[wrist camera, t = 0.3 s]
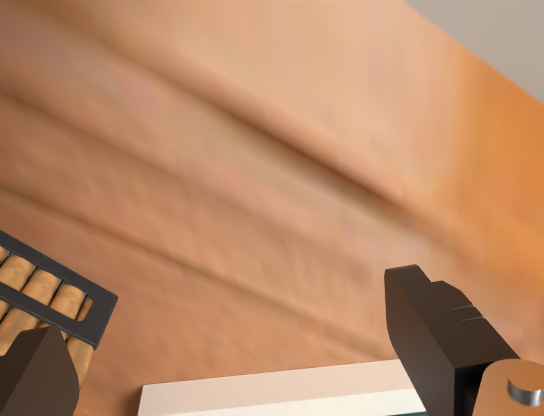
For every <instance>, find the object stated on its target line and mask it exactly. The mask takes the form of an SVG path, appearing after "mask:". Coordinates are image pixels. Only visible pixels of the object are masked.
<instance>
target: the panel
mask: <svg viewBox="0 0 544 416" xmlns="http://www.w3.org/2000/svg"><path fill="white" fill-rule="evenodd" d="M424 411H426V409H425V407H424V406H423V404H422V402H421V400H420V398H419V396H418V394H417V392H416V390H415V388H414V386H413V384H412V382H411V381H410V379H409V377H408V375H407V373H406V371H405V369H404V367H403V365H402V363H401V361H400V359H393V360H384V361H374V362H364V363H354V364H345V365H335V366H325V367H315V368H306V369H296V370H286V371H276V372H267V373H257V374H247V375H237V376H228V377H218V378H208V379H198V380H189V381H179V382H169V383H159V384H150V385H143V390H142V396H141V401H140V406H139V411H138V416H388V415H397V414H406V413H415V412H424ZM426 412H427V411H426Z"/></svg>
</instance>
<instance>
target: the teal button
mask: <svg viewBox="0 0 544 416" xmlns="http://www.w3.org/2000/svg"><path fill="white" fill-rule="evenodd" d="M392 416H429V415H428V413H427V412H426V411H424V412H415V413H406V414H397V415H392Z"/></svg>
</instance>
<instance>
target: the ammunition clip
mask: <svg viewBox="0 0 544 416" xmlns="http://www.w3.org/2000/svg"><path fill="white" fill-rule="evenodd" d="M23 286H25V287H24V288H23ZM22 288H23V290H22V291H21V289H22ZM20 291H21V292H20ZM50 300H51V301H52V302H51V304H50V306H48V304H49V302H50ZM117 300H118V296H116V295H114V294H113V293H111V292H109V291H107V290H106V289H104V288H102V287H100V286H99V285H97V284H95V283H93V282H91V281H90V280H88V279H86V278H84V277H83V276H81V275H79V274H77V273H75V272H74V271H72V270H70V269H68V268H67V267H65V266H63V265H61V264H59V263H58V262H56V261H54V260H52V259H51V258H49V257H47V256H45V255H43V254H42V253H40V252H38V251H36V250H35V249H33V248H31V247H29V246H28V245H26V244H24V243H22V242H20V241H19V240H17V239H15V238H13V237H12V236H10V235H8V234H6V233H4V232H3V231H1V230H0V356H2V355H5V353H6V352H7V350H8V349H9V347H10V346H11V344H12V343H13V341H14V340H15V338H16V337H17V335H18V334H19V333H20V332H21V331H23V330H29V329H35V327H36V325H37V324H38V322H39V320H42V321H41V323H40V325H39V327H38V328H41V327H47V326H52V325H55V326H57V327H58V328H59V329H60V331H61V333H62V335H63V338H64V340H65V343H66V345H67V348H68V351H69V353H70V356H71V359H72V361H73V364H74V366H75V369H76V372H77V374H78V378H79V386H80V389H81V387H82V385H83V382H84V379H85V376H86V373H87V370H88V368H89V365H90V362H91V359H92V356H93V354H94V351H95V350H96V348H97V347H98V345H99V343H100V340H101V338H102V335H103V333H104V331H105V328H106V326H107V324H108V321H109V319H110V316H111V314H112V312H113V309H114V307H115V305H116V302H117ZM11 305H12V307H11V308H10V310H9V311H8V313H6V311H7V310H8V309H9V307H10V306H11ZM76 316H77V319H76V320H75V318H76ZM68 334H69V337H68V338H67V336H68ZM66 338H67V339H66Z"/></svg>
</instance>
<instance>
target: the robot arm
mask: <svg viewBox="0 0 544 416" xmlns="http://www.w3.org/2000/svg"><path fill="white" fill-rule="evenodd" d="M384 282H385V302H386V321H387V329H388V333H389V337H390V340H391V343H392V346H393V348H394V350H395V352H396V354H397V356H398V357H399V359H400V361H401V363H402V365H403V367H404V369H405V371H406V373H407V375H408V377H409V379H410V381H411V382H412V384H413V386H414V388H415V390H416V392H417V394H418V396H419V398H420V400H421V402H422V404H423V406H424V407H425V409H426V411H427V413H428V415H429V416H544V365H541V364H539V363H536V362H532V361H528V360H523V359H520V357H519V356H518V355H517V354H516V353H515V352H514V351H513V350H512V348H511V347H510V346H509V345H508V344H507V343H506V342H505V340H504V339H503V338H502V337H501V336H500V335H499V334H498V332H497V331H496V330H495V329H494V328H493V327H492V326H491V325H490V323H489V322H488V321H487V320H486V319H485V318H484V319H483V316H482V314H481V313H480V312H479V311H478V310H477V309H476V307H473V304H472V303H471V302H470V301H469V300H468V298H467V297H466V296H465V295H464V294H463V293H462V292H461V291H460V290H459V289H457V288H455V287H453V286H451V285H449V284H448V283H446V282H444V281H436V282H431V281H430V280H429V279H428V277H427V276H426V275H425V274H424V272H423V271H422V270H421V269H420V267H419V266H418V265H416V264H414V265H408V266H403V267H397V268H391V269H386V270H385V274H384ZM79 391H80V386H79V378H78V374H77V372H76V369H75V366H74V364H73V361H72V359H71V356H70V353H69V351H68V348H67V345H66V343H65V340H64V338H63V335H62V333H61V331H60V329H59V328H58V327H57V326H55V325H52V326H47V327H41V328H35V329H29V330H23V331H21V332H20V333H19V334H18V335H17V337H16V338H15V340H14V341H13V343H12V344H11V346H10V347H9V349H8V350H7V352H6V353H5V355H2V356H0V416H73V413H74V410H75V408H76V405H77V402H78V399H79Z"/></svg>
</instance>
